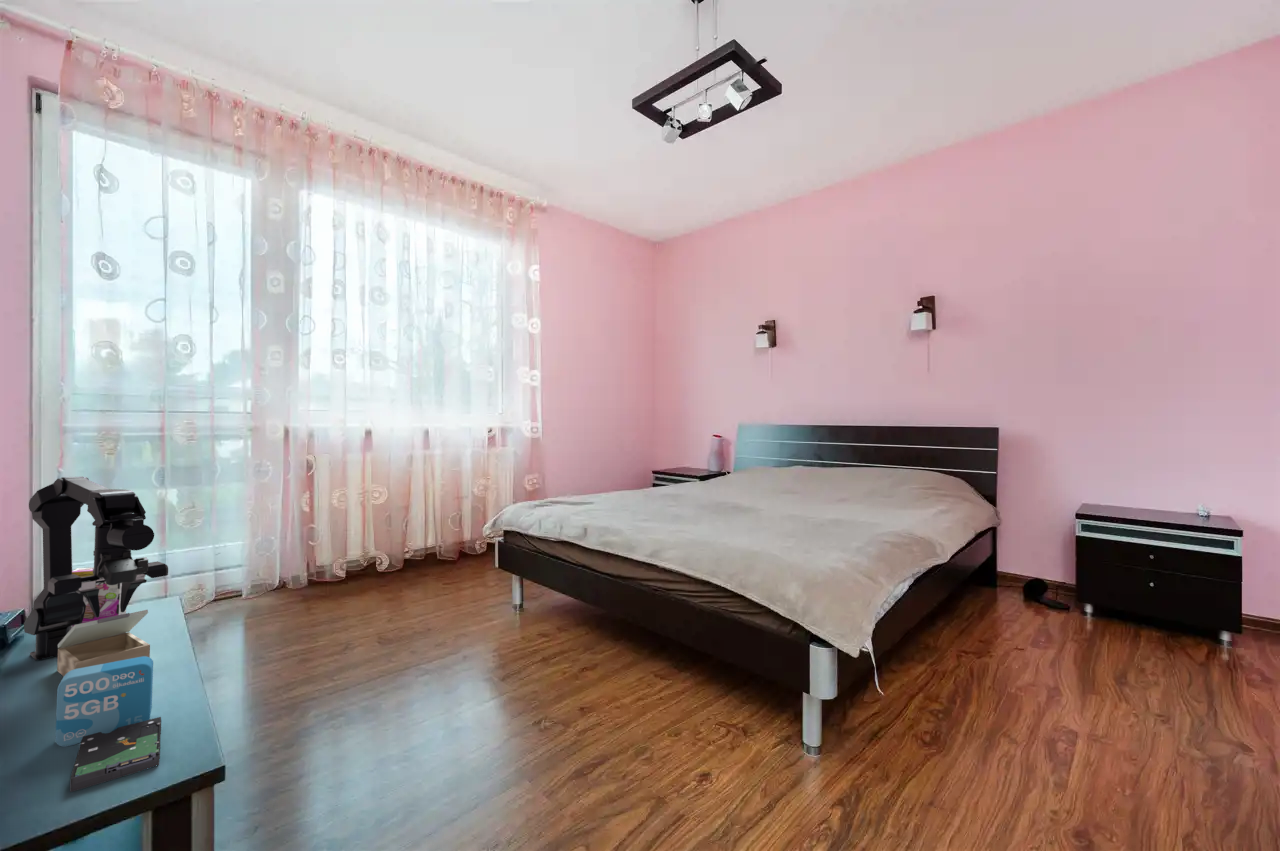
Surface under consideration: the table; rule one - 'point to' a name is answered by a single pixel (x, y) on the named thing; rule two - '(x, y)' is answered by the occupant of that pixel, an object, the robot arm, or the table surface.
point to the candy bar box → (102, 598)
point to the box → (101, 652)
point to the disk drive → (116, 753)
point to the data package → (103, 698)
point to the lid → (101, 628)
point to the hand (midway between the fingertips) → (110, 614)
